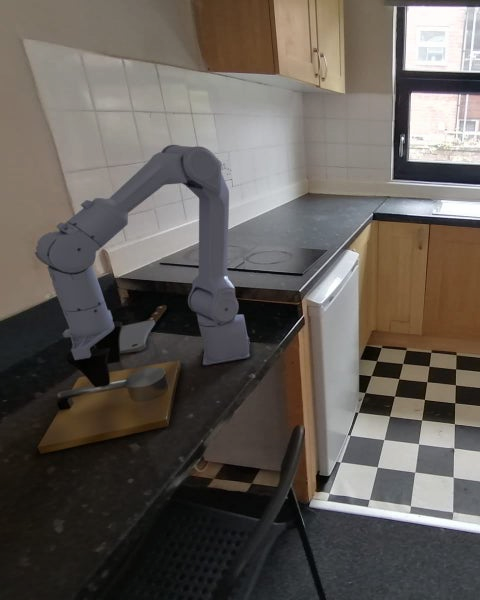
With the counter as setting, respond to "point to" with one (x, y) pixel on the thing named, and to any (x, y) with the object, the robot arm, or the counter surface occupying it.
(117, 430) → the chopping board
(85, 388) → the grey disc-end rod
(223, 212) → the robot arm
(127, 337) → the kitchen cleaver
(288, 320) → the counter surface
